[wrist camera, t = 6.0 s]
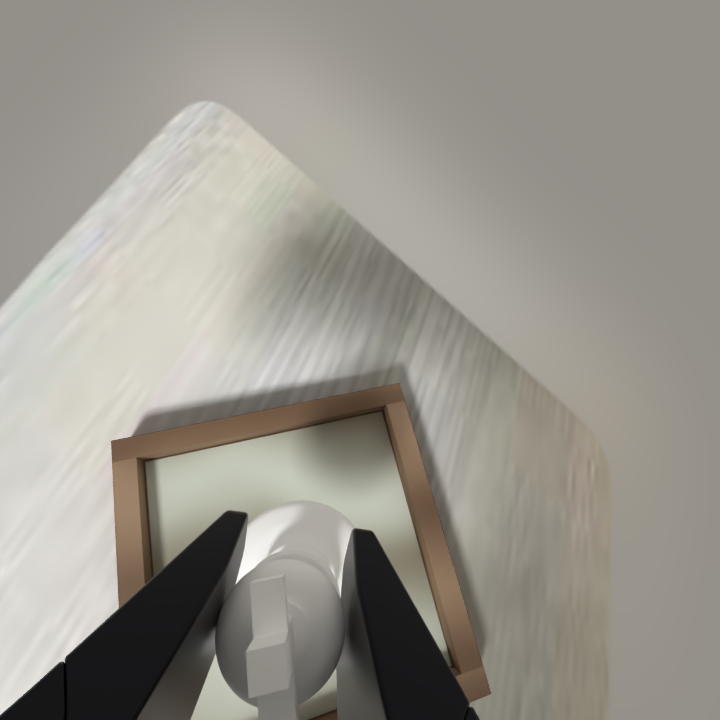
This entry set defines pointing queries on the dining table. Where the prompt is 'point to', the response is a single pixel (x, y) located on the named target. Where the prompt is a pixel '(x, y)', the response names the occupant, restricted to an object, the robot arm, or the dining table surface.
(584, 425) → the dining table surface
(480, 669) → the walnut tray
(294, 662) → the chess piece
